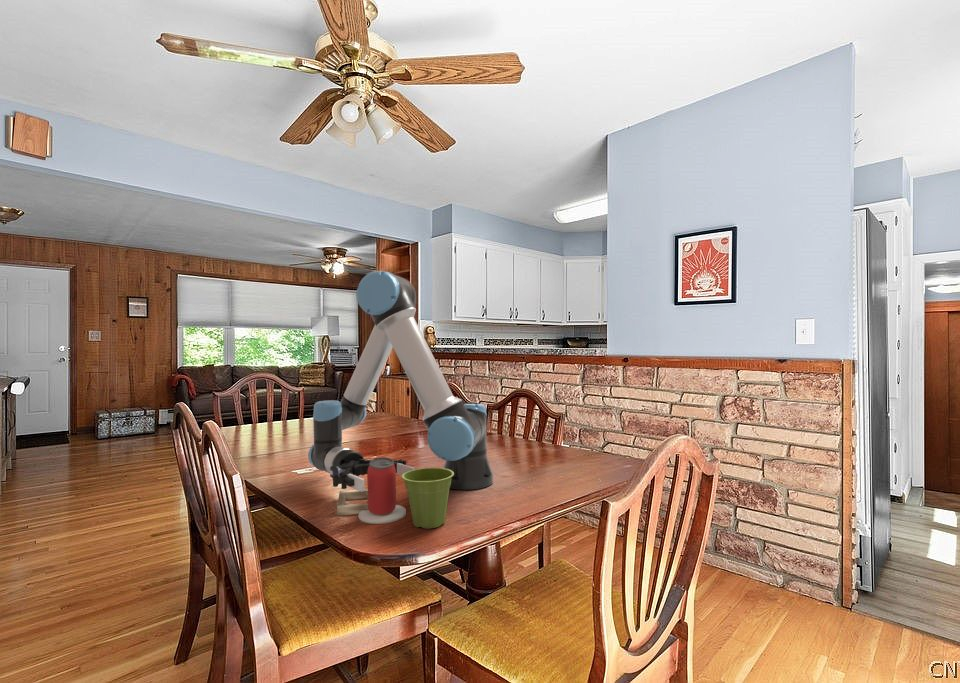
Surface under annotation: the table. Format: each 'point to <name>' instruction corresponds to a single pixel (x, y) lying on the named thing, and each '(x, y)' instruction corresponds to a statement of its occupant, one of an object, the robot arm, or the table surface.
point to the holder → (351, 508)
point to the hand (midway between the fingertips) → (389, 479)
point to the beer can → (381, 486)
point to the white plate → (382, 516)
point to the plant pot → (428, 495)
